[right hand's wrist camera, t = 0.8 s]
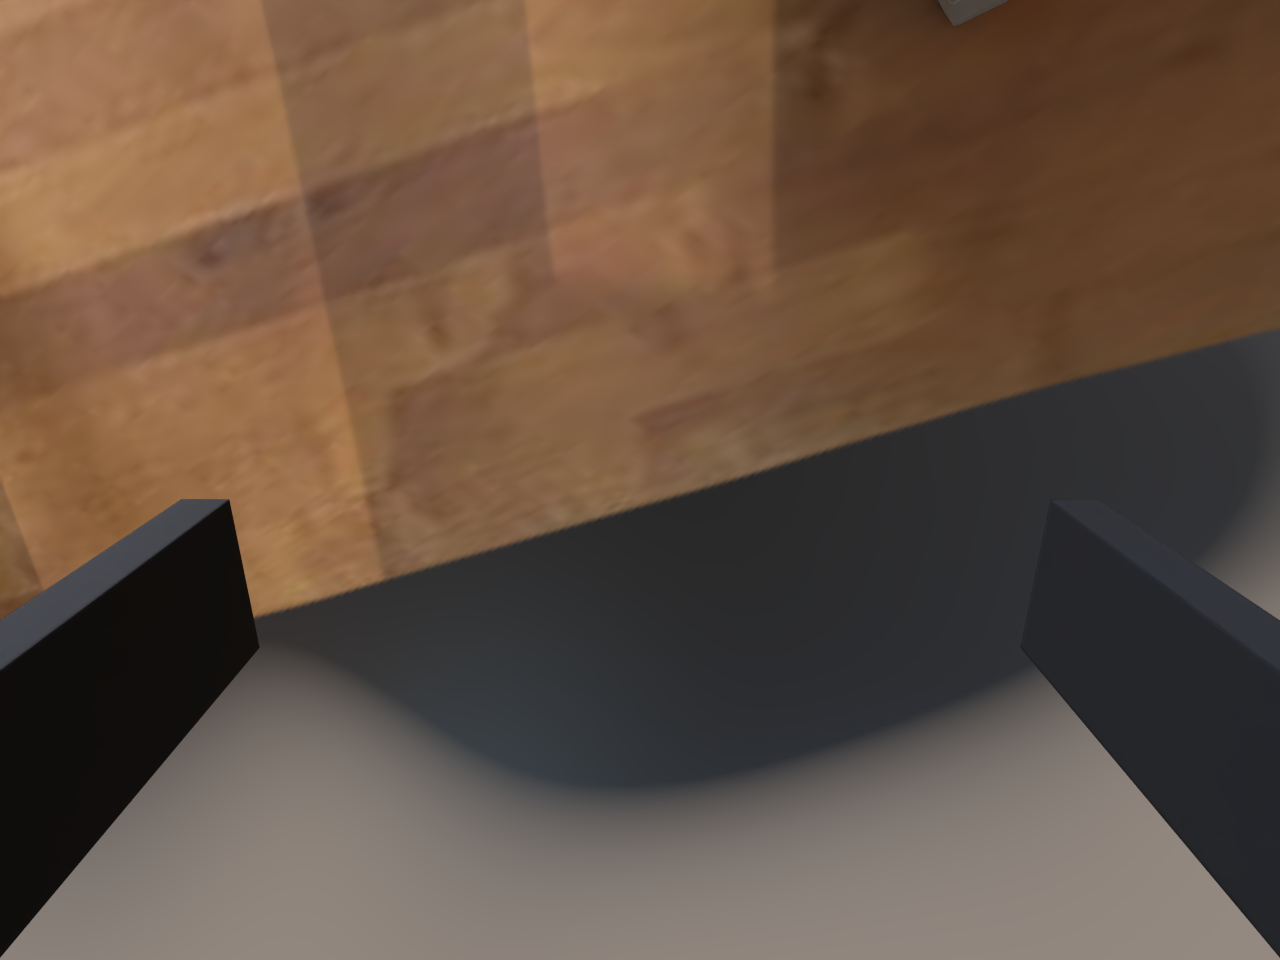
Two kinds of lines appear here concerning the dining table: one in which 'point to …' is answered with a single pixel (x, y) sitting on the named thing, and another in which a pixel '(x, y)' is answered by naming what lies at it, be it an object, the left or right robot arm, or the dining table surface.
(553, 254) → the dining table surface
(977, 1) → the hard drive box
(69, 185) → the dining table surface
